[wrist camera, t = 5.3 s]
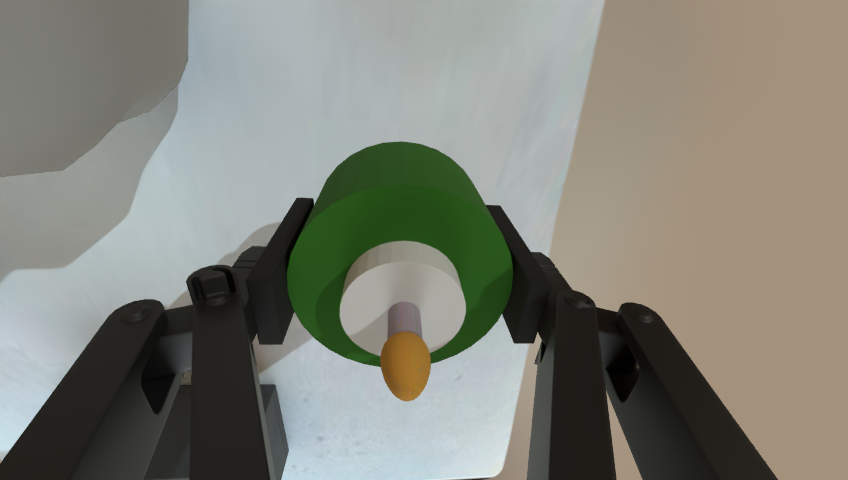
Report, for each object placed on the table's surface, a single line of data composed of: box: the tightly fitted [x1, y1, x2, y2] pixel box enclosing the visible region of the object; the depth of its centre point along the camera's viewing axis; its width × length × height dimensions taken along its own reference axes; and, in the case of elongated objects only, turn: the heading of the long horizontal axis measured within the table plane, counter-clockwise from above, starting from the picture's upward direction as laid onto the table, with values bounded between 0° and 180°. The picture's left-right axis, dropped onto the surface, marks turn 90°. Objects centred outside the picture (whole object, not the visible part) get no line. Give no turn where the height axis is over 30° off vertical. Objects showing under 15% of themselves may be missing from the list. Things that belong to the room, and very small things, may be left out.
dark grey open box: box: [144, 385, 289, 480], centre depth 35 cm, size 17×12×9 cm
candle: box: [287, 142, 513, 401], centre depth 13 cm, size 8×8×10 cm
